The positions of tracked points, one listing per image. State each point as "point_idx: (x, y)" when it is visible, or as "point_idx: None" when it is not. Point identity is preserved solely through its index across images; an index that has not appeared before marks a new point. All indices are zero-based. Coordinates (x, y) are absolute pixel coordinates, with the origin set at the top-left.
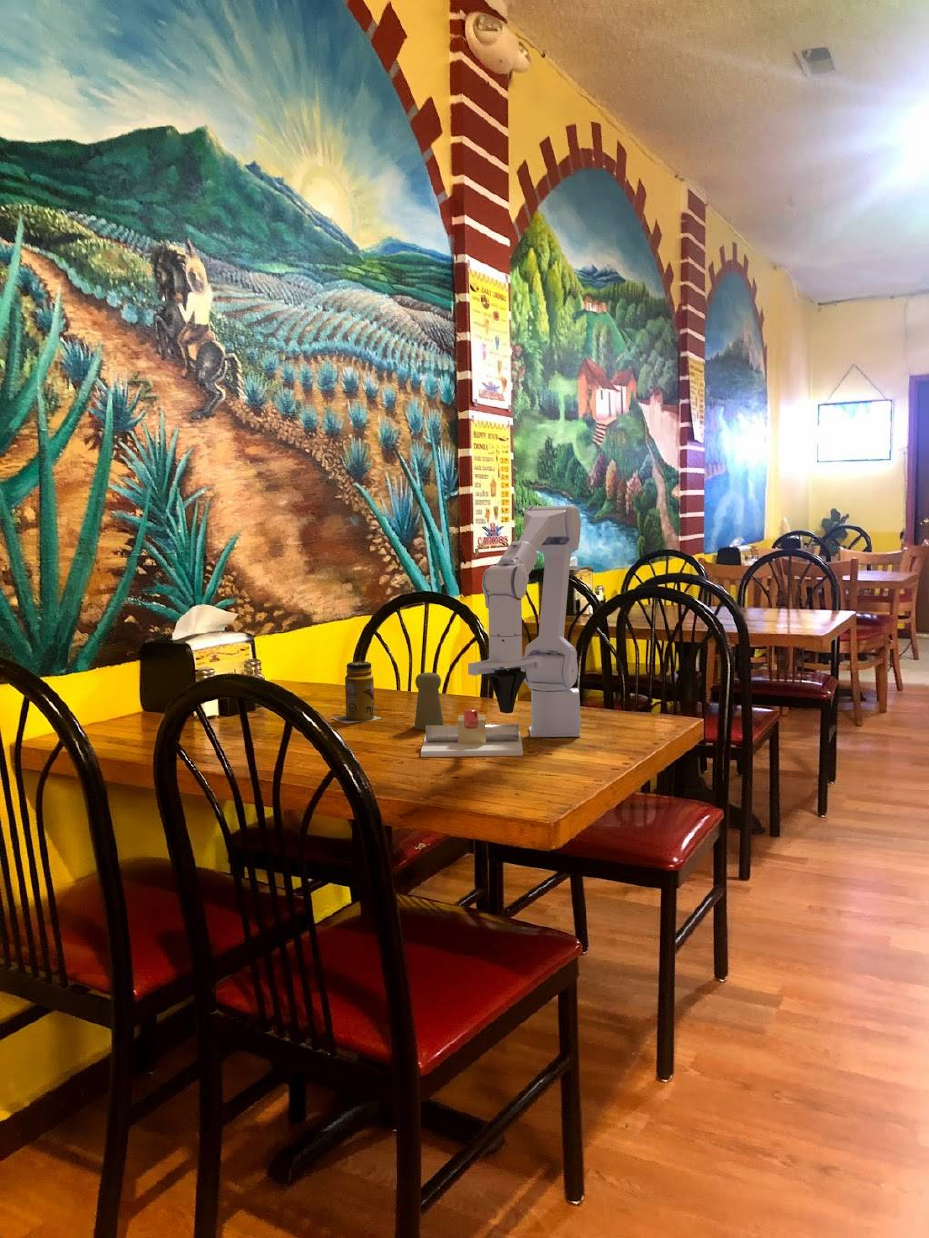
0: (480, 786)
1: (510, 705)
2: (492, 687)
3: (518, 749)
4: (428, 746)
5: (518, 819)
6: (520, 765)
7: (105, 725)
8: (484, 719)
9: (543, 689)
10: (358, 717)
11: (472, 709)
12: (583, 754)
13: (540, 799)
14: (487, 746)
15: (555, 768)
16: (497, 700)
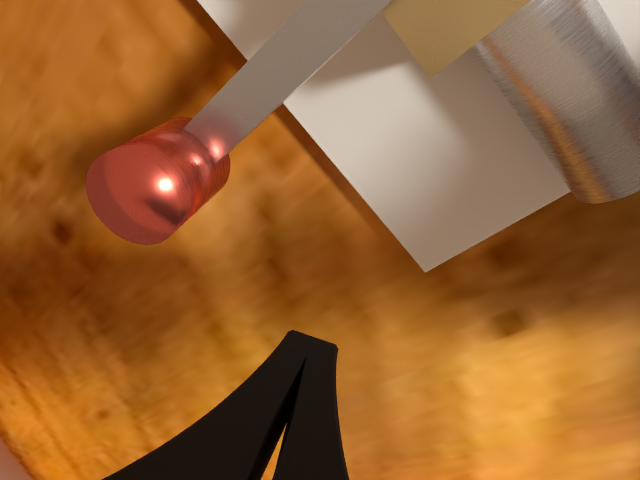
0: (71, 328)
1: (280, 434)
2: (178, 434)
3: (420, 255)
4: None
5: (20, 463)
6: (300, 316)
7: None
8: (446, 56)
9: None
10: None
11: (159, 189)
12: (566, 419)
13: (118, 458)
14: (390, 101)
15: (340, 408)
16: (255, 372)
